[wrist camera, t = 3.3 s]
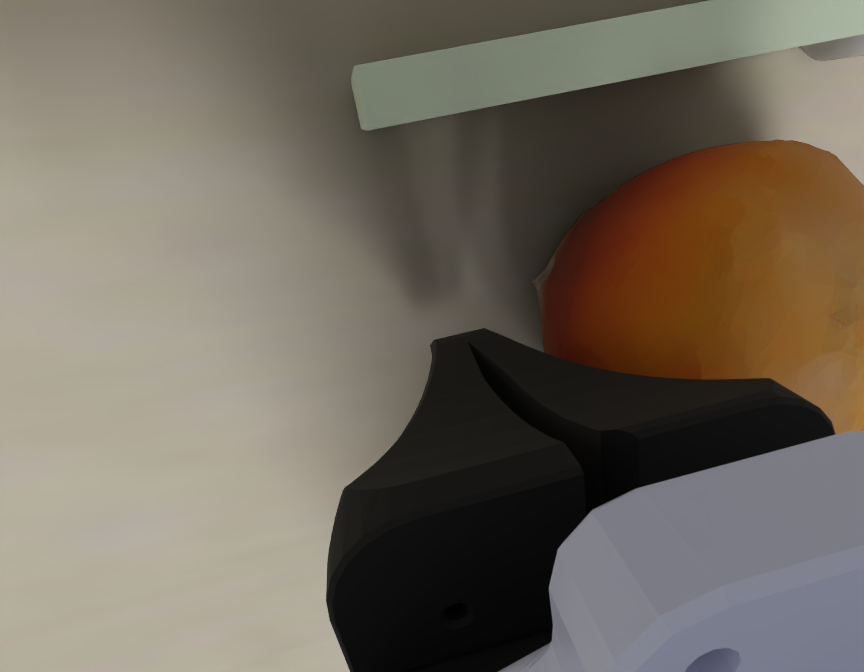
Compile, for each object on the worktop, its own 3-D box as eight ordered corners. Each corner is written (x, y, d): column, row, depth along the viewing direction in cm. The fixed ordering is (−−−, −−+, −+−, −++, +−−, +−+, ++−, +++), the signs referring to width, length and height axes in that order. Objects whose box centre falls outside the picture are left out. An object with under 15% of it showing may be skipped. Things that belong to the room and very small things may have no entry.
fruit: (403, 289, 12) (804, 289, 5) (579, 139, 15) (954, 28, 9) (533, 504, 15) (874, 661, 9) (653, 342, 19) (963, 370, 12)
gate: (879, -42, 12) (1067, -99, 9) (863, 53, 13) (1031, 30, 10) (344, 55, 11) (346, 28, 8) (365, 151, 12) (375, 161, 9)
